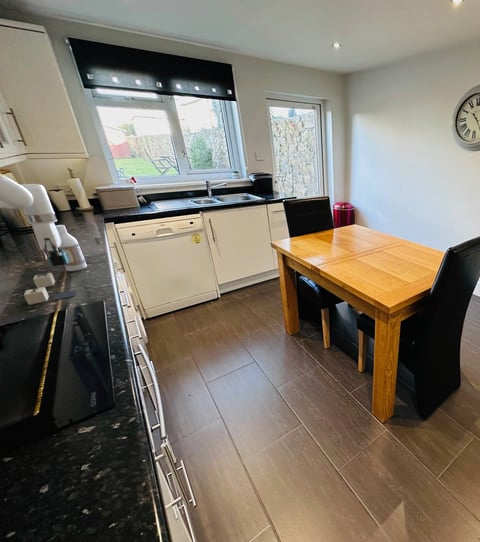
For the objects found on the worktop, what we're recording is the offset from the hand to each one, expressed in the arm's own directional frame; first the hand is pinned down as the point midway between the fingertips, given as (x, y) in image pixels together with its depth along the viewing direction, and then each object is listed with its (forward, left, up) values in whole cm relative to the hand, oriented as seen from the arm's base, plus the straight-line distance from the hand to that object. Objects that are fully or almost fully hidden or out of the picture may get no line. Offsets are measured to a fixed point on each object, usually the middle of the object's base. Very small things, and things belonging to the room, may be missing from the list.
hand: (59, 262), depth 113 cm
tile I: (-6, -16, -8) cm, 19 cm away
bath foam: (+2, +15, -8) cm, 18 cm away
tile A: (-6, 0, -8) cm, 10 cm away
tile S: (0, 0, 0) cm, 0 cm away
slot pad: (0, -16, -8) cm, 18 cm away
